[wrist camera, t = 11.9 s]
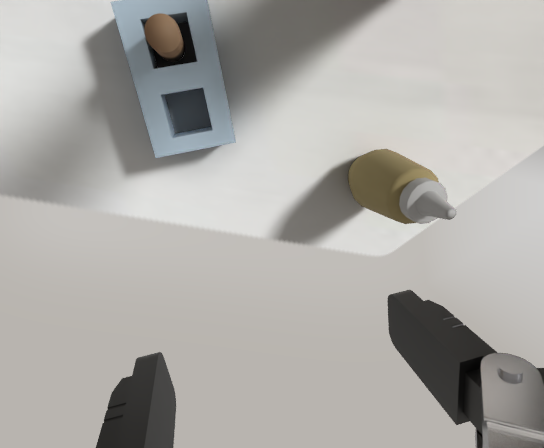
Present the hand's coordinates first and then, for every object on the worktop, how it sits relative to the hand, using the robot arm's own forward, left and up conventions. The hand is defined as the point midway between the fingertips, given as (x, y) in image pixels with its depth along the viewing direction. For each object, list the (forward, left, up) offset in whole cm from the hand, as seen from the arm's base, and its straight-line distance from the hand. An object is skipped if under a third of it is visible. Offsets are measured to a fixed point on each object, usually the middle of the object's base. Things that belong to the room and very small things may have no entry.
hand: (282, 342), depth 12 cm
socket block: (+3, -10, -36) cm, 37 cm away
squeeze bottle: (-19, +6, -36) cm, 41 cm away
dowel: (+3, -14, -36) cm, 39 cm away
